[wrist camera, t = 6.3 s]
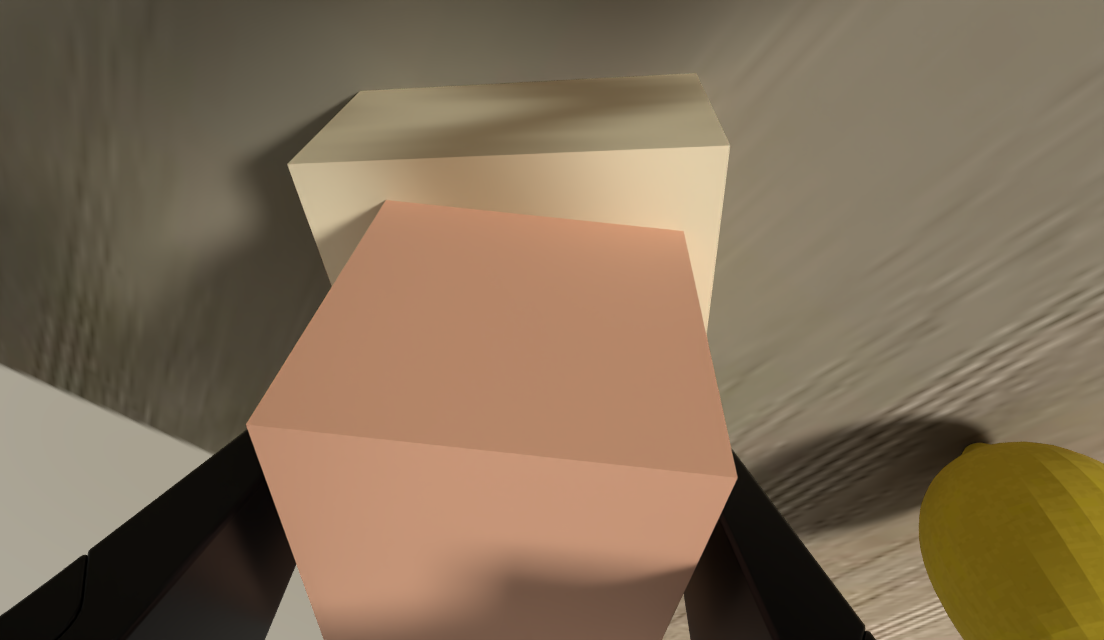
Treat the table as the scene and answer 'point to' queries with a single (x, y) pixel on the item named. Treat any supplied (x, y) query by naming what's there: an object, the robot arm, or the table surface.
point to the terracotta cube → (499, 431)
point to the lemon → (1017, 542)
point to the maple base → (524, 159)
